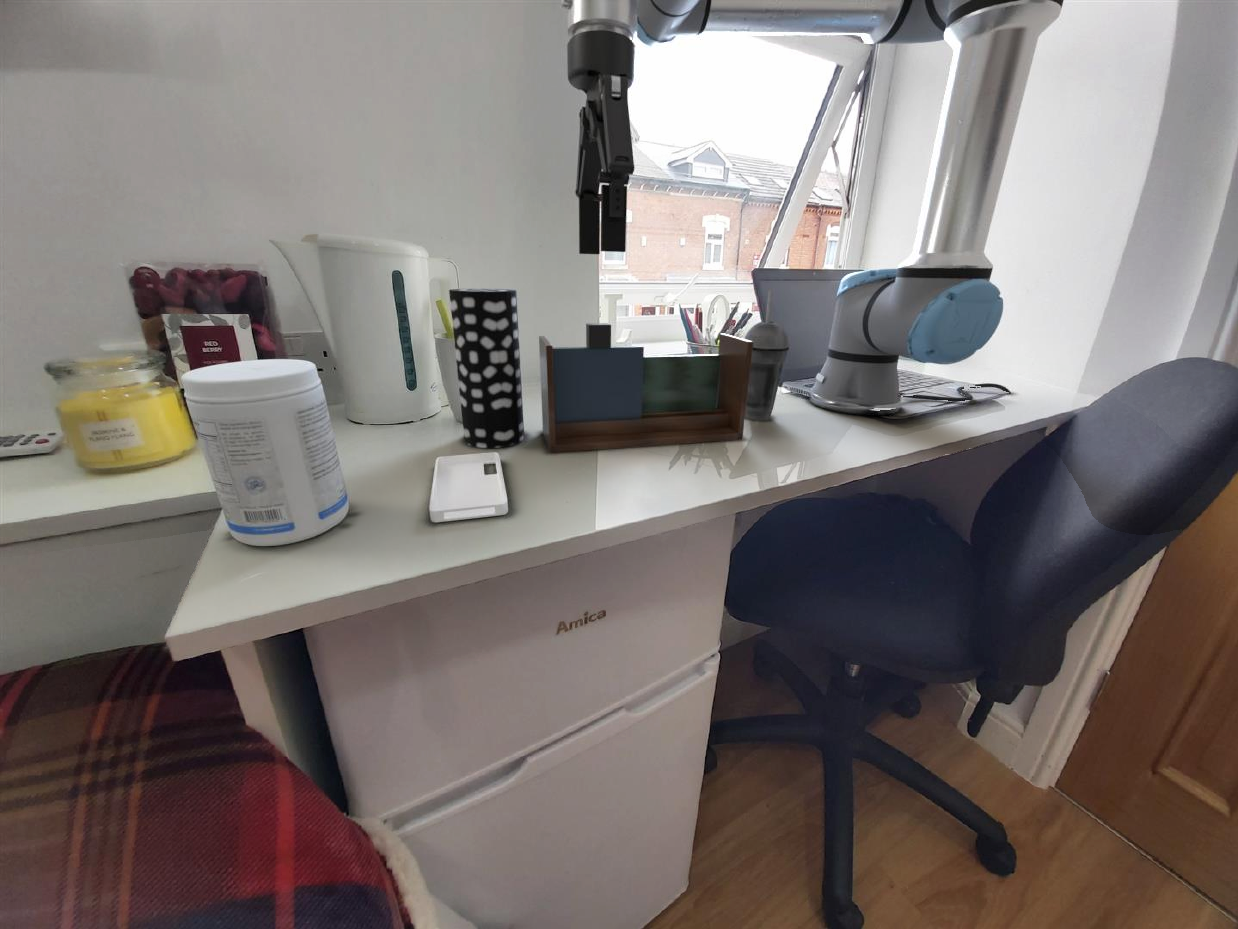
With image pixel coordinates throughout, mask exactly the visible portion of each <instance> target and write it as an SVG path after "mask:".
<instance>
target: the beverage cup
mask: <svg viewBox="0 0 1238 929" xmlns="http://www.w3.org/2000/svg"><path fill="white" fill-rule="evenodd" d="M772 292H773V291H772V290H769V291H768V293H767V304H766V315H765V321H759V322H757V323H755V324H753V326H751V327H750V328H749V330H748V331H747V332H746V334H745V336H744V339H746V340H749V341H753V350H752V359H751V367H750V376H749V385H748V394H747V402H746V411H745V419H747V420H751V421H758V422H762V421H763V422H764V421H769V420H770V419H771V416H772V412H773V410H774V406H775V401H776V398H777V393H778V389H779V384H780V381H781V375H782V371H783V367H784V363H785V361H786V358H787V355H788V351H789V350H790V347H789V337H788V334H787V332H786V330H785V328H784V327H783V326H782V325H781V324H779V323H778V322H776V321H770V315H771V304H772V295H773V294H772Z"/></svg>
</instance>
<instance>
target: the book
mask: <svg viewBox="0 0 1238 929" xmlns="http://www.w3.org/2000/svg"><path fill="white" fill-rule="evenodd" d="M585 334H586V335H585V339H586V340H585V341H586V342H585V346H559V347H558V346H557V347H553V375H554V406H555V423H567V422H585V421H603V420H621V419H639V418H641V413H642V385H643V356H645V355H644V354H645V353H644V352H645V351H644V350H645V347H644V346H642V345H612V324H610V323H607V322H604V323H603V322H602V323H601V322H600V323H599V322H597V323H586V324H585Z"/></svg>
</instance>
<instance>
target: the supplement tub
mask: <svg viewBox="0 0 1238 929" xmlns="http://www.w3.org/2000/svg"><path fill="white" fill-rule="evenodd" d="M180 380H181V384H182V386H183V390H184V393H183V396H184V398H185V402H186V405H187V408H188V411H189V415H190V418H191V421H192V424H193V427H194V430H195V433H196V436H197V439H198V442H199V445H200V448H201V451H202V454H203V457H204V460H205V462H206V466H207V469H208V472H209V475H210V478H211V481H212V483H213V487H214V489H215V494H216V495H217V498H218V501H219V505H220V507H221V510H222V514H223V516H224V519H225V522H226V524H227V527H228V530H229V533H230V535H231V536H232V537H233V539H235V540H236V541H238V542H239V543H243V544H245V545H249V546H253V547H254V546H256V547H274V546H275V547H277V546H283V545H284V546H285V545H289V544H294V543H299V542H303V541H306V540H309V539H313V538H314V537H317V536H319V535H322V534H324V533H325V532H327V531H329V530H330V529H332V528H333V527H336V526H337V525H339V524H340V523H341V522H342V521H343V520H344V519H345V517H346V516H347V514H348V513H349V510H350V502H349V498H348V492H347V488H346V483H345V480H344V474H343V471H342V470H343V469H342V467H341V462H340V457H339V453H338V448H337V444H336V438H335V435H334V430H333V425H332V420H331V417H330V413H329V409H328V403H327V398H326V395H325V391H324V387H323V384H322V380H321V378H320V376H319V373H318V369H317V365H316V364H315V363H313V362H312V361H309V360H304V359H291V358H290V359H289V358H272V359H270V358H268V359H254V360H251V359H250V360H240V361H233V362H227V363H226V362H225V363H218V364H214V365H213V364H212V365H207V366H203V367H199V368H195V369H192V370H188V371H186V372H185V373H183V374H182V375H181V376H180Z"/></svg>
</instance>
